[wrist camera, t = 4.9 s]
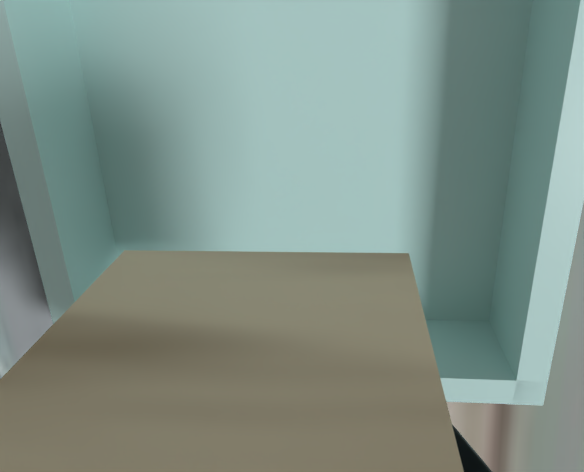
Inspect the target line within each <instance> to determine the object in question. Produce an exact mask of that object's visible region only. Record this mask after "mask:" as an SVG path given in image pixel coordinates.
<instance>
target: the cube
mask: <svg viewBox="0 0 584 472" xmlns="http://www.w3.org/2000/svg"><path fill="white" fill-rule="evenodd" d="M0 472H464V470H463V466H462V462H461V459H460V455H459V451H458V447H457V443H456V439H455V435H454V431H453V427H452V423H451V419H450V415H449V411H448V407H447V403H446V399H445V395H444V391H443V387H442V383H441V379H440V375H439V371H438V367H437V363H436V359H435V355H434V351H433V347H432V343H431V339H430V335H429V331H428V328H427V324H426V320H425V316H424V312H423V308H422V304H421V300H420V296H419V292H418V288H417V284H416V280H415V276H414V272H413V268H412V264H411V260H410V256H409V253H341V252H243V251H146V250H124V251H123V252H122V253H121V254H120V255H119V257H118V258H117V259H116V260H115V261H114V262H113V263H112V264H111V265H110V266H109V267H108V268H107V269H106V270H105V271H104V272H103V273H102V274H101V275H100V276H99V277H98V278H97V279H96V280H95V281H94V283H93V284H92V285H91V286H90V287H89V288H88V289H87V290H86V291H85V292H84V293H83V294H82V295H81V296H80V297H79V298H78V299H77V300H76V301H75V302H74V303H73V304H72V305H71V306H70V308H69V309H68V310H67V311H66V312H65V313H64V314H63V315H62V316H61V317H60V318H59V319H58V320H57V321H56V322H55V323H54V324H53V325H52V326H51V327H50V328H49V329H48V330H47V331H46V333H45V334H44V335H43V336H42V337H41V338H40V339H39V340H38V341H37V342H36V343H35V344H34V345H33V346H32V347H31V348H30V349H29V350H28V351H27V352H26V353H25V354H24V355H23V356H22V358H21V359H20V360H19V361H18V362H17V363H16V364H15V365H14V366H13V367H12V368H11V369H10V370H9V371H8V372H7V373H6V374H5V375H4V376H3V377H2V378H1V379H0Z"/></svg>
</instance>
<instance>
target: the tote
mask: <svg viewBox="0 0 584 472" xmlns="http://www.w3.org/2000/svg"><path fill="white" fill-rule="evenodd" d="M0 122H1V126H2V130H3V133H4V137H5V141H6V145H7V149H8V153H9V156H10V160H11V164H12V168H13V172H14V176H15V179H16V183H17V187H18V191H19V195H20V199H21V202H22V206H23V210H24V214H25V218H26V222H27V225H28V229H29V233H30V237H31V241H32V244H33V248H34V252H35V256H36V260H37V264H38V267H39V271H40V275H41V279H42V283H43V287H44V290H45V294H46V298H47V302H48V306H49V310H50V313H51V317H52V321H53V324H54V323H55V322H56V321H57V320H58V319H59V318H60V317H61V316H62V315H63V314H64V313H65V312H66V311H67V310H68V309H69V308H70V306H71V305H72V304H73V303H74V302H75V301H76V300H77V299H78V298H79V297H80V296H81V295H82V294H83V293H84V292H85V291H86V290H87V289H88V288H89V287H90V286H91V285H92V284H93V283H94V281H95V280H96V279H97V278H98V277H99V276H100V275H101V274H102V273H103V272H104V271H105V270H106V269H107V268H108V267H109V266H110V265H111V264H112V263H113V262H114V261H115V260H116V259H117V258H118V257H119V255H120V254H121V253H122V252H123V251H124V250H146V251H243V252H341V253H409V256H410V260H411V264H412V268H413V272H414V276H415V280H416V284H417V288H418V292H419V296H420V300H421V304H422V308H423V312H424V316H425V320H426V324H427V328H428V331H429V335H430V339H431V343H432V347H433V351H434V355H435V359H436V363H437V367H438V371H439V375H440V379H441V383H442V387H443V391H444V395H445V399H446V402H469V403H495V404H520V405H543V403H544V398H545V393H546V388H547V383H548V378H549V373H550V368H551V363H552V358H553V353H554V348H555V343H556V338H557V333H558V328H559V323H560V318H561V313H562V308H563V303H564V298H565V292H566V287H567V282H568V277H569V272H570V267H571V262H572V257H573V252H574V247H575V242H576V237H577V232H578V227H579V222H580V217H581V212H582V207H583V202H584V0H0Z"/></svg>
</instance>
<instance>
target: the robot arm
mask: <svg viewBox="0 0 584 472" xmlns="http://www.w3.org/2000/svg"><path fill="white" fill-rule="evenodd" d="M452 427H453V431H454V435H455V439H456V443H457V447H458V451H459V455H460V459H461V462H462V466H463V470H464V472H492V471H491V470H490V469H489V468H488V466H487V465H486V464H485V463H484V462H483V460H482V459H481V458H480V457H479V456H478V454H477V453H476V452H475V451H474V450H473V449H472V447H471V446H470V445H469V444H468V443H467V441H466V440H465V439H464V438H463V437H462V435H461V434H460V433H459V432H458V431H457V429H456V428H455V427H454V426H453V425H452Z"/></svg>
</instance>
